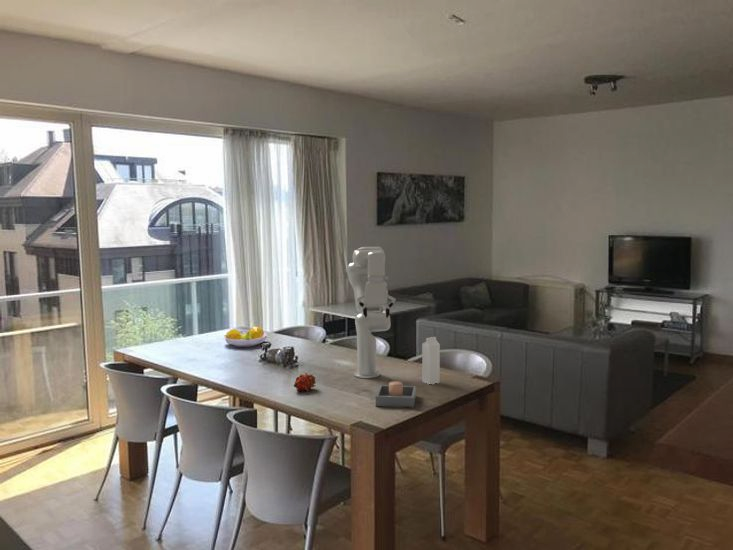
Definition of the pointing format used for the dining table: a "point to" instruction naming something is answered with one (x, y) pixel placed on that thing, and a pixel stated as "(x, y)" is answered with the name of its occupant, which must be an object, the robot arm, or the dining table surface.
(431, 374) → the milk
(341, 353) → the dining table surface
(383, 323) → the robot arm
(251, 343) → the fruit bowl
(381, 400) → the bin
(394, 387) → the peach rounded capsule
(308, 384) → the dragon fruit
